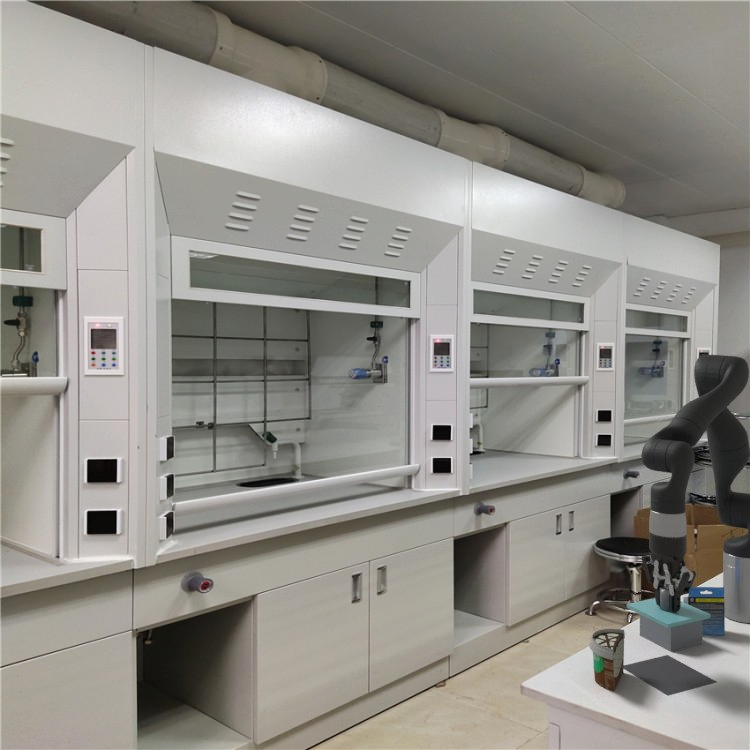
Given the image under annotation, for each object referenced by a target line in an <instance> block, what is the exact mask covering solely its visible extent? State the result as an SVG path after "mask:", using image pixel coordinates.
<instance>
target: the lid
mask: <svg viewBox="0 0 750 750" xmlns="http://www.w3.org/2000/svg"><path fill="white" fill-rule="evenodd" d="M669 595H670V592H669V586H667V585H666V586H663V587H660V606H658V605H657V604H656V600H655V597H654V598H650V599H649V598H648V599H645V600H639V601H635V602H630V603H626V608H627V609H628V610H631V611H633V612H635V613H637V614H638V615H640V614H641V615H643V616H645V617H647V618H649V619H651V620H653V621H655V622H657V623H659V624H661V625H663V626H665V627H667V628H670V627H674V626H678V625H683V624H687V623H691V622H696V621H700V620H704V619H708V618H711V614H709V613H706V612H704V611H702V610H700V609H697V608H695V607H693V606H691V605H688V604H686V603H684V602H683V601H681V608H680V609H679V611H677V612H671V611H670V610H669Z"/></svg>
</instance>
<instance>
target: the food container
mask: <svg viewBox="0 0 750 750" xmlns="http://www.w3.org/2000/svg"><path fill="white" fill-rule="evenodd" d="M625 636H626V634H625V629H622V628H621V629H620V628H602V629H599V630H596V631H595V632H593V633H592V634H591V637H590V640H589V645H588V646H589V649H590V650H591V651H592V660H593V661H592V662H593V673H594V675H593V676H594V681H595V683H596V684H597V685H598V686H600V687H601V688H603V689H605V690H607V691H611V692H615V690H616V688H617V686H618V683H619V682H620V679H621V678H622V676H623V674H624V669H623V668H624V665H625V664H624V661H625V660H624V659H625Z"/></svg>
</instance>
